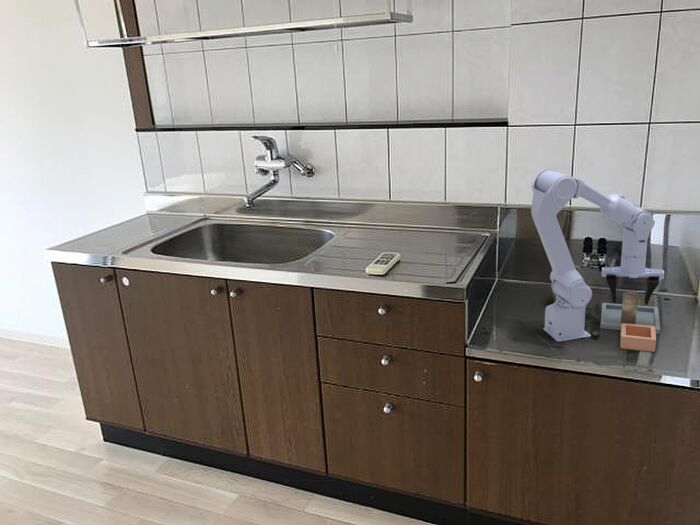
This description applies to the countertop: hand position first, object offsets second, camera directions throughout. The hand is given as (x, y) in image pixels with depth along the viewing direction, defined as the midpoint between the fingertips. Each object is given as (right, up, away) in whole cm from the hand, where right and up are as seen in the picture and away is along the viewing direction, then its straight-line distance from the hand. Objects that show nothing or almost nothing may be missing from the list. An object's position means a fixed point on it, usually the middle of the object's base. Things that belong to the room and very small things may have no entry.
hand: (629, 302), depth 156 cm
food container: (-12, -1, +19) cm, 22 cm away
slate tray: (+1, -5, +3) cm, 6 cm away
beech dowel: (0, -5, +2) cm, 6 cm away
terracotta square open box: (-2, -10, -9) cm, 14 cm away
